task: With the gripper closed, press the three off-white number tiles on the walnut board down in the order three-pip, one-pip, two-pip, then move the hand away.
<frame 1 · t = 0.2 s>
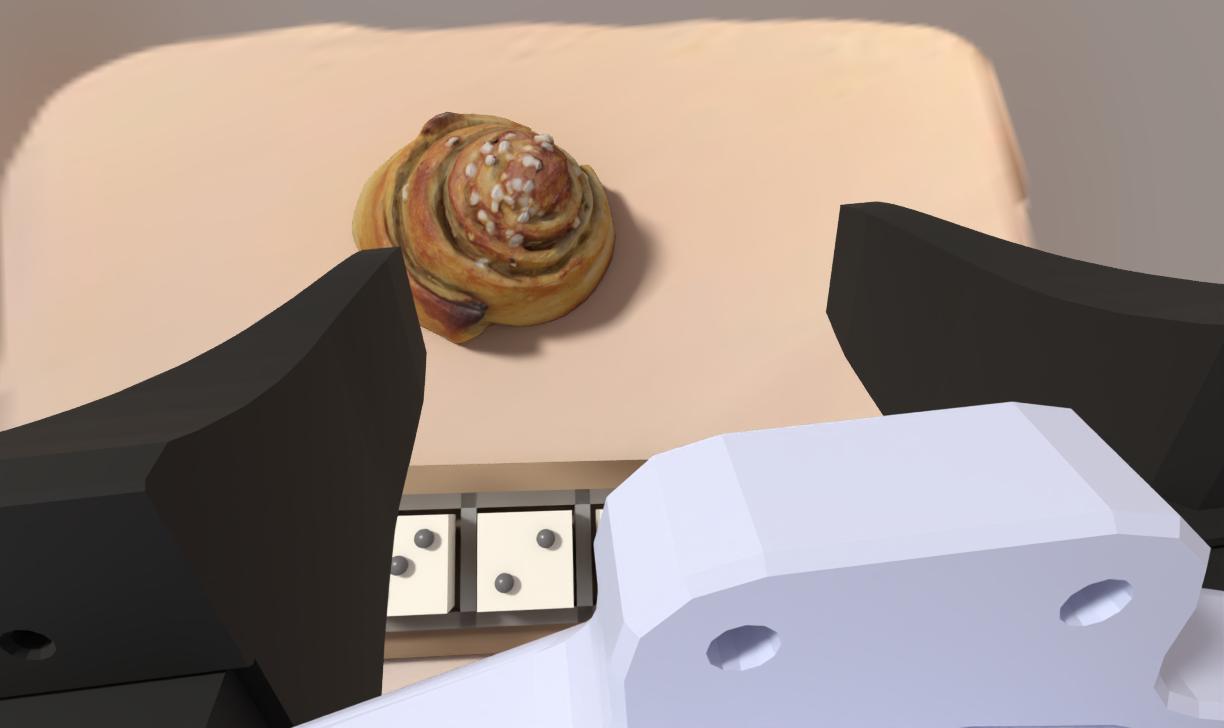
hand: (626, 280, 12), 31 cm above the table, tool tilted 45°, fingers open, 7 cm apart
tile three: (403, 563, 36), point 4 cm above the table, slide at 0.0 cm
board: (527, 553, 40), on the table
pastry: (488, 235, 44), on the table
tile one: (644, 553, 37), point 4 cm above the table, slide at 0.0 cm
tile two: (525, 558, 36), point 4 cm above the table, slide at 0.0 cm
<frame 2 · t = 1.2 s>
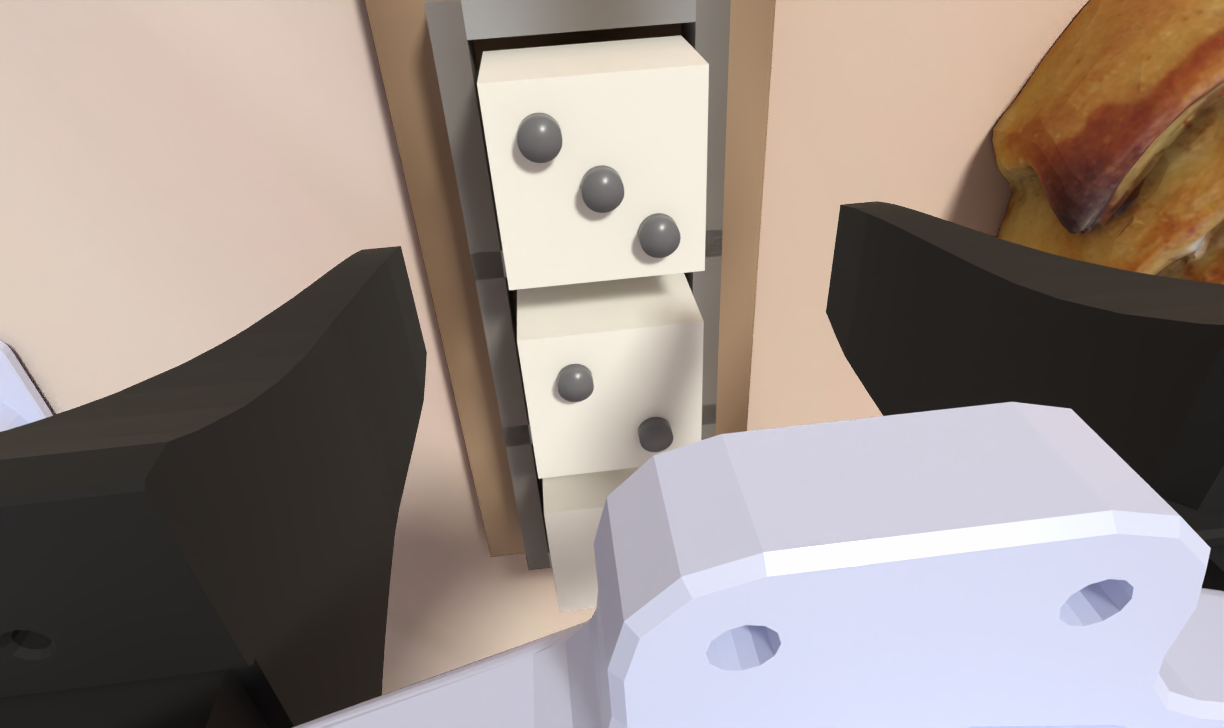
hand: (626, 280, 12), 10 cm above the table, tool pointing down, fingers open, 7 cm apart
tile three: (596, 165, 17), point 4 cm above the table, slide at 0.0 cm
board: (596, 300, 24), on the table
pastry: (1177, 160, 23), on the table
tile one: (621, 525, 23), point 4 cm above the table, slide at 0.0 cm
tile two: (610, 376, 20), point 4 cm above the table, slide at 0.0 cm
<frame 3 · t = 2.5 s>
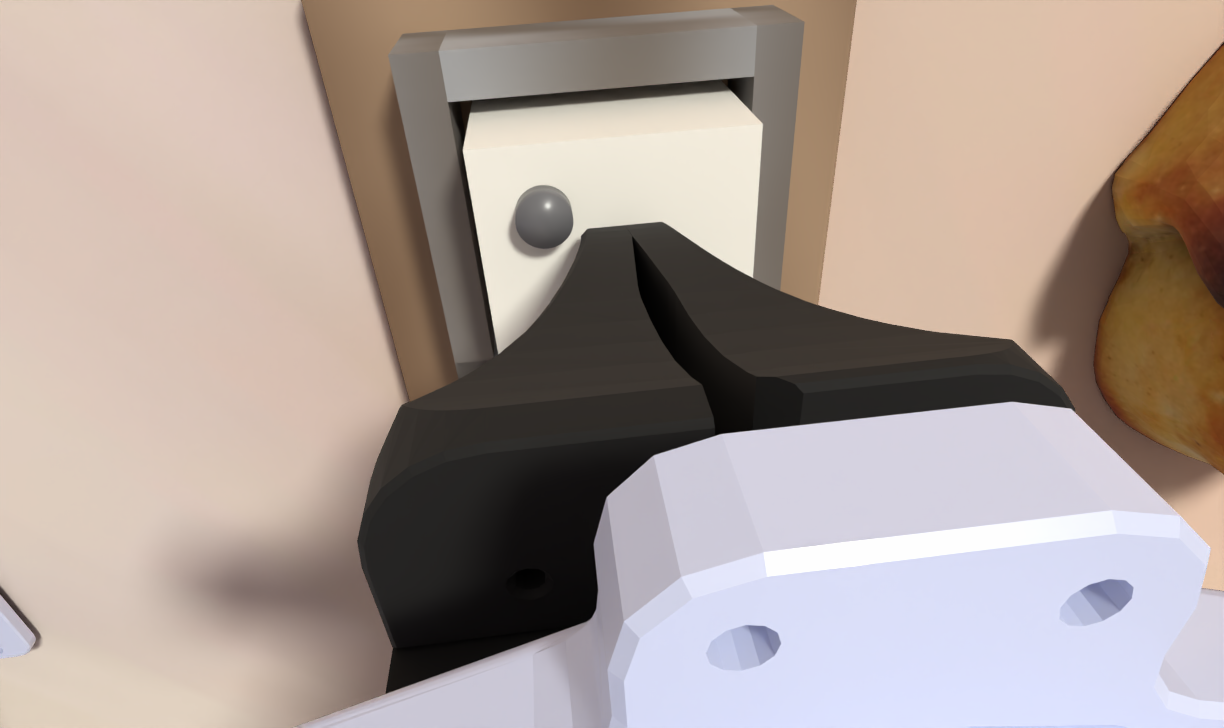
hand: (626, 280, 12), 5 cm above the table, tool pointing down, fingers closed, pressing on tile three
tile three: (613, 239, 13), point 3 cm above the table, slide at 1.2 cm, touching gripper
board: (612, 395, 19), on the table
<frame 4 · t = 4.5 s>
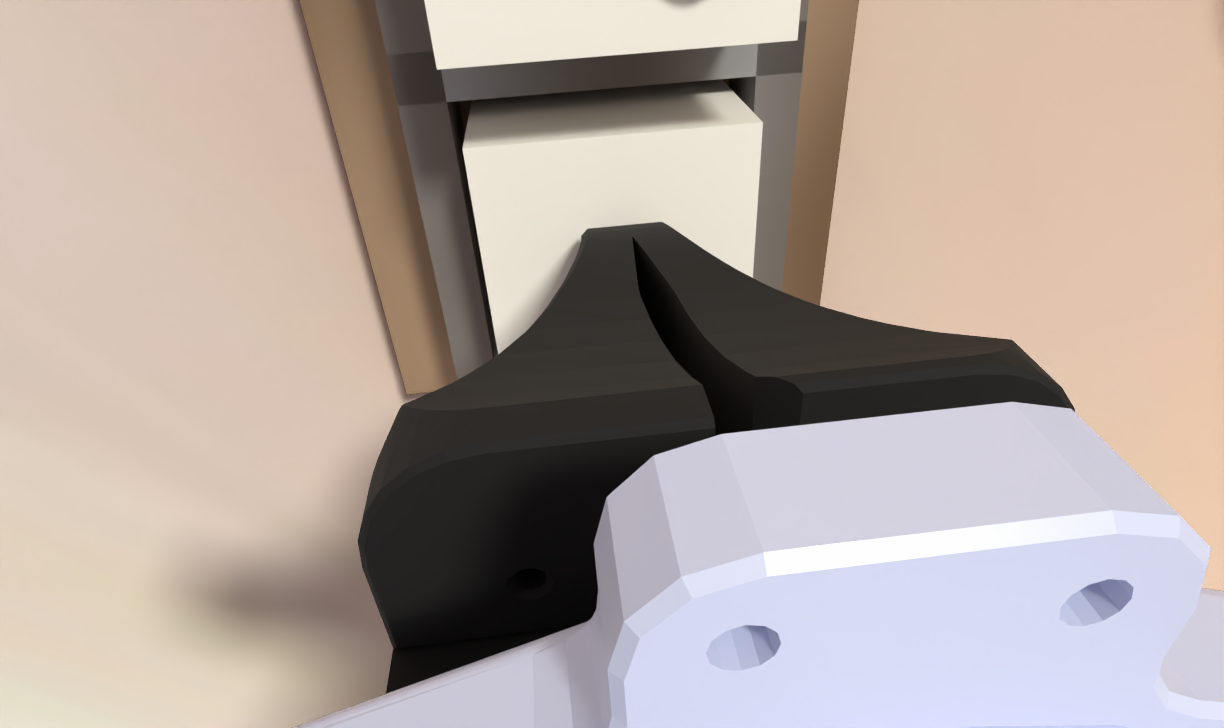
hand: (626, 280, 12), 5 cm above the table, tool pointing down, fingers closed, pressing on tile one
tile one: (613, 238, 13), point 3 cm above the table, slide at 1.3 cm, touching gripper
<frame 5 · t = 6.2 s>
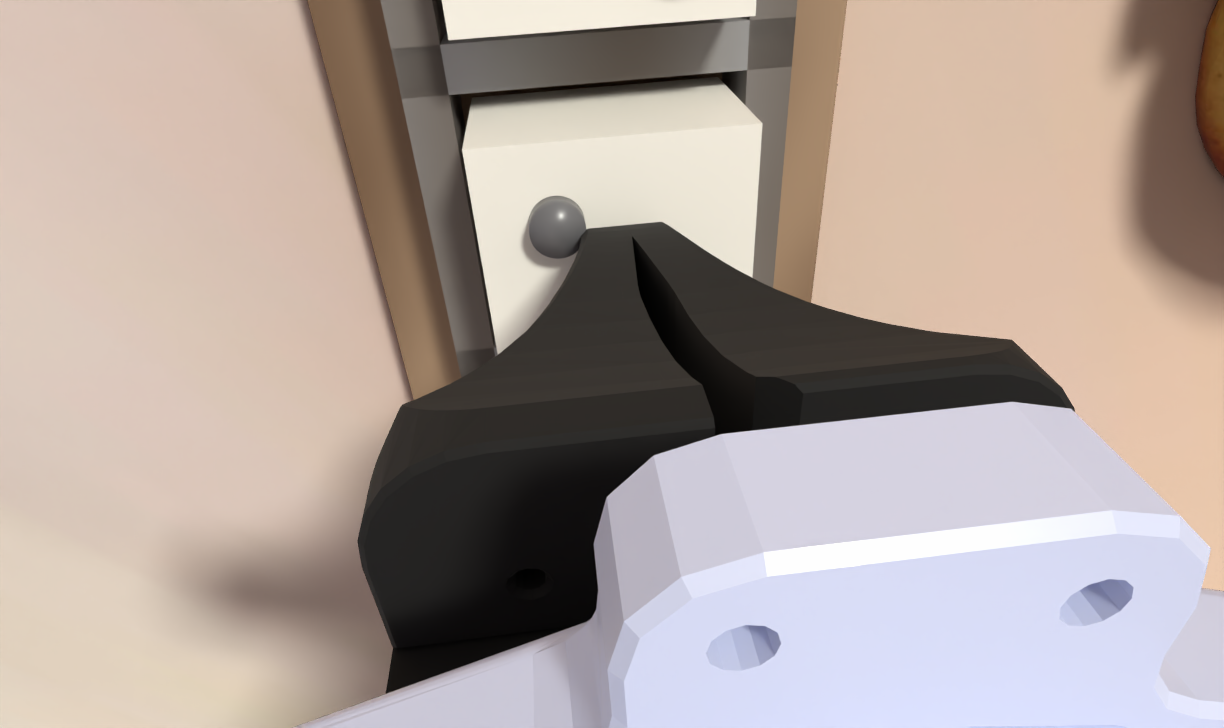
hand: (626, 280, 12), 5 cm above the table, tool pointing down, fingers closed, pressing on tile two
board: (595, 172, 16), on the table
tile two: (612, 239, 13), point 4 cm above the table, slide at 0.7 cm, touching gripper
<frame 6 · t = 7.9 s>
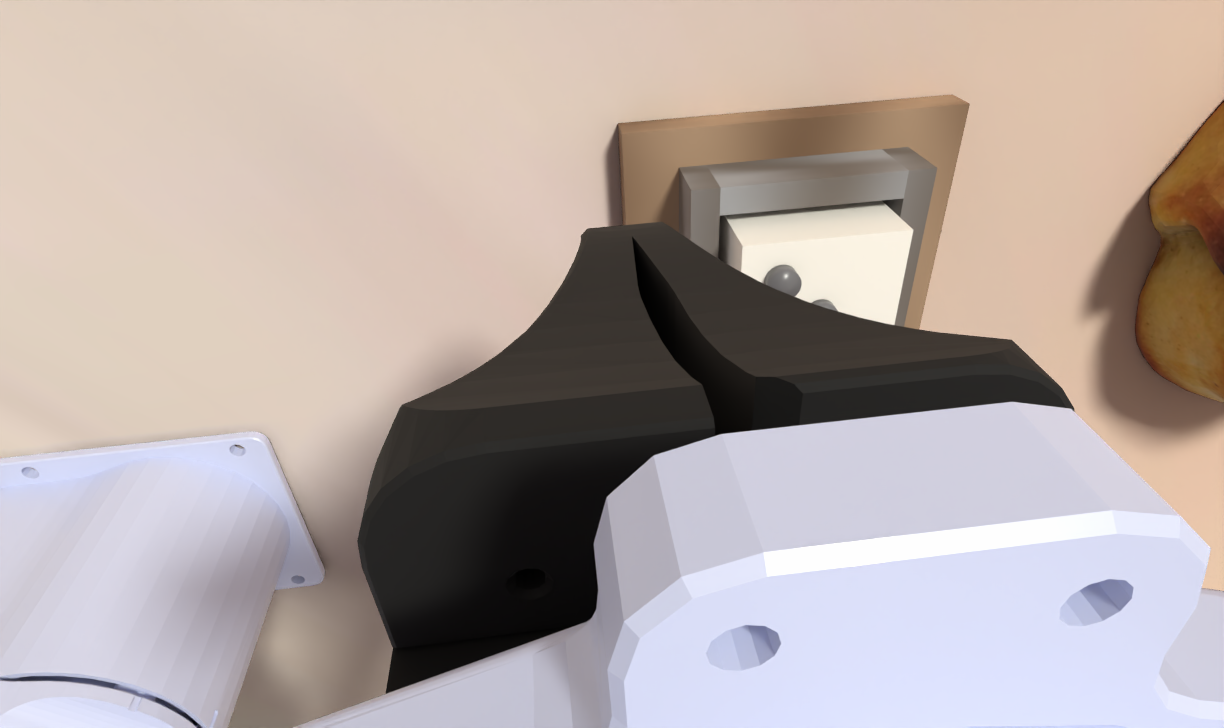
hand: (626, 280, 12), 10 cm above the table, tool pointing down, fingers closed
tile three: (803, 290, 21), point 3 cm above the table, slide at 1.4 cm
board: (763, 393, 27), on the table
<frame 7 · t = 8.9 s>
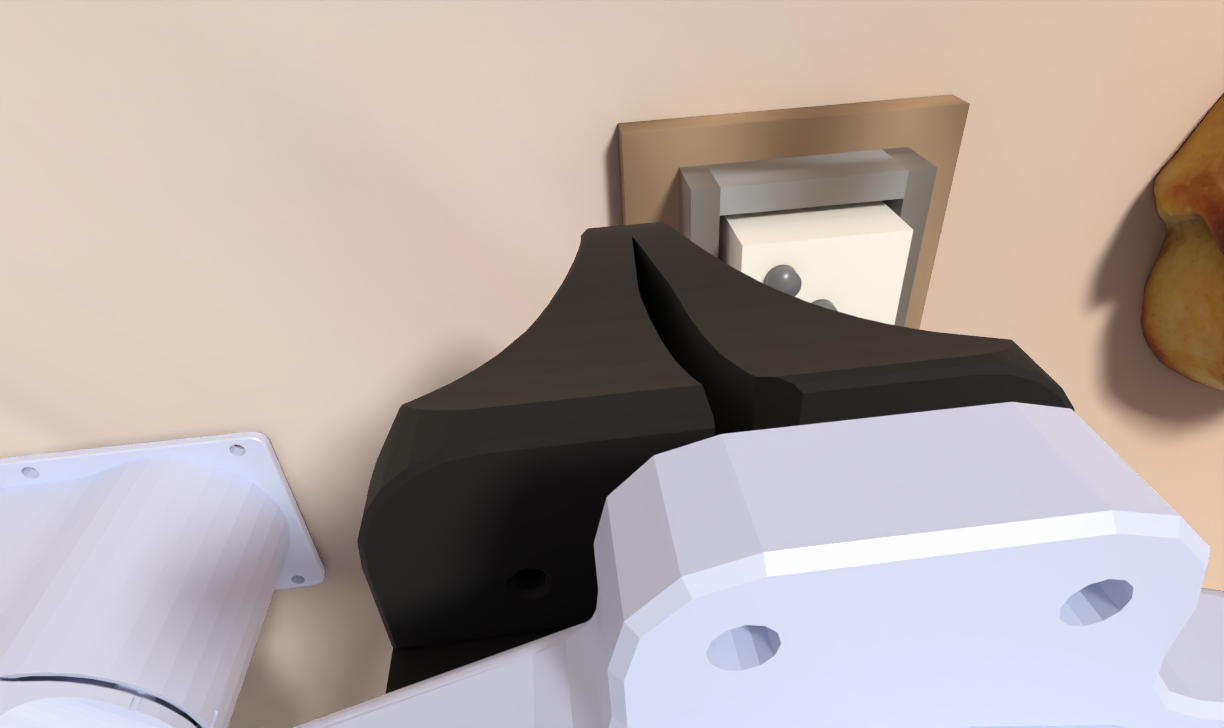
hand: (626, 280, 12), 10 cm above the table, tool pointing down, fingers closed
tile three: (803, 290, 21), point 3 cm above the table, slide at 1.4 cm
board: (763, 393, 27), on the table
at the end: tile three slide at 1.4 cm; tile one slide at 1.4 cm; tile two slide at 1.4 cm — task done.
